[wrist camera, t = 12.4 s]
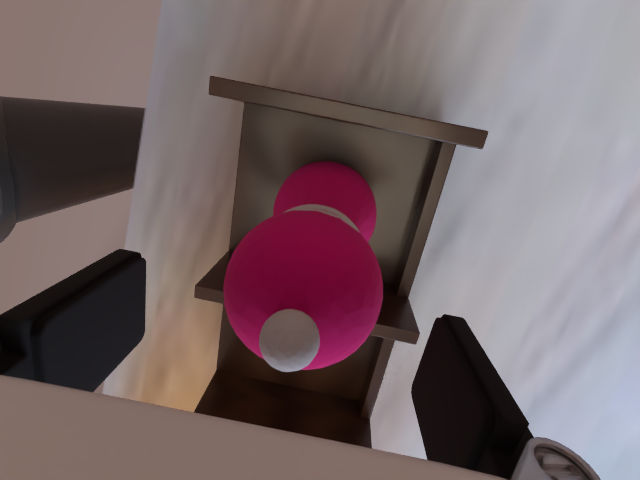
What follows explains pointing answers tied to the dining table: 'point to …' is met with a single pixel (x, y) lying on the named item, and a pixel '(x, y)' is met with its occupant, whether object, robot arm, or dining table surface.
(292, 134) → the shelf
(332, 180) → the pepper mill
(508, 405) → the robot arm
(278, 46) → the dining table surface
